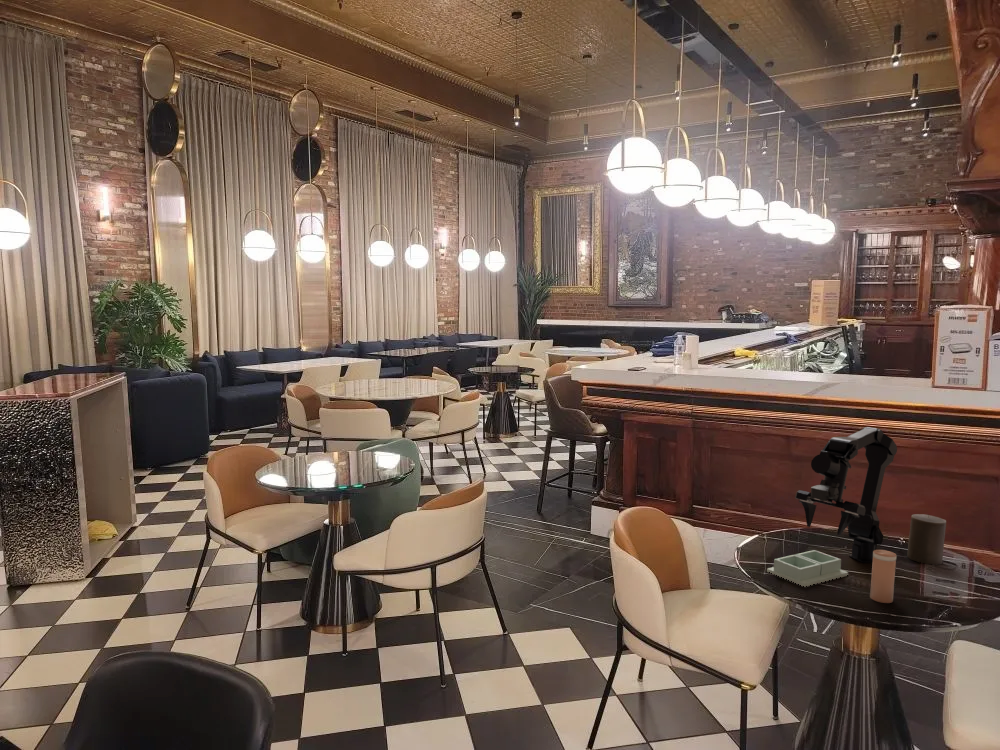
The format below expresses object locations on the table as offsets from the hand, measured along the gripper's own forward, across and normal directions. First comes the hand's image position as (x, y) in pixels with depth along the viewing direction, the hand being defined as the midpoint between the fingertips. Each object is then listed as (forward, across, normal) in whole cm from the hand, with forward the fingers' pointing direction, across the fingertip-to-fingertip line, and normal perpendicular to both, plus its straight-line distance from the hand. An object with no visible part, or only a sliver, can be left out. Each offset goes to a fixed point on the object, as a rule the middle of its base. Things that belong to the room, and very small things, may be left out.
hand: (823, 530), depth 204 cm
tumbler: (+14, +18, +3) cm, 23 cm away
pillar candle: (0, +11, +46) cm, 48 cm away
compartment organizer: (+14, -4, +3) cm, 15 cm away
